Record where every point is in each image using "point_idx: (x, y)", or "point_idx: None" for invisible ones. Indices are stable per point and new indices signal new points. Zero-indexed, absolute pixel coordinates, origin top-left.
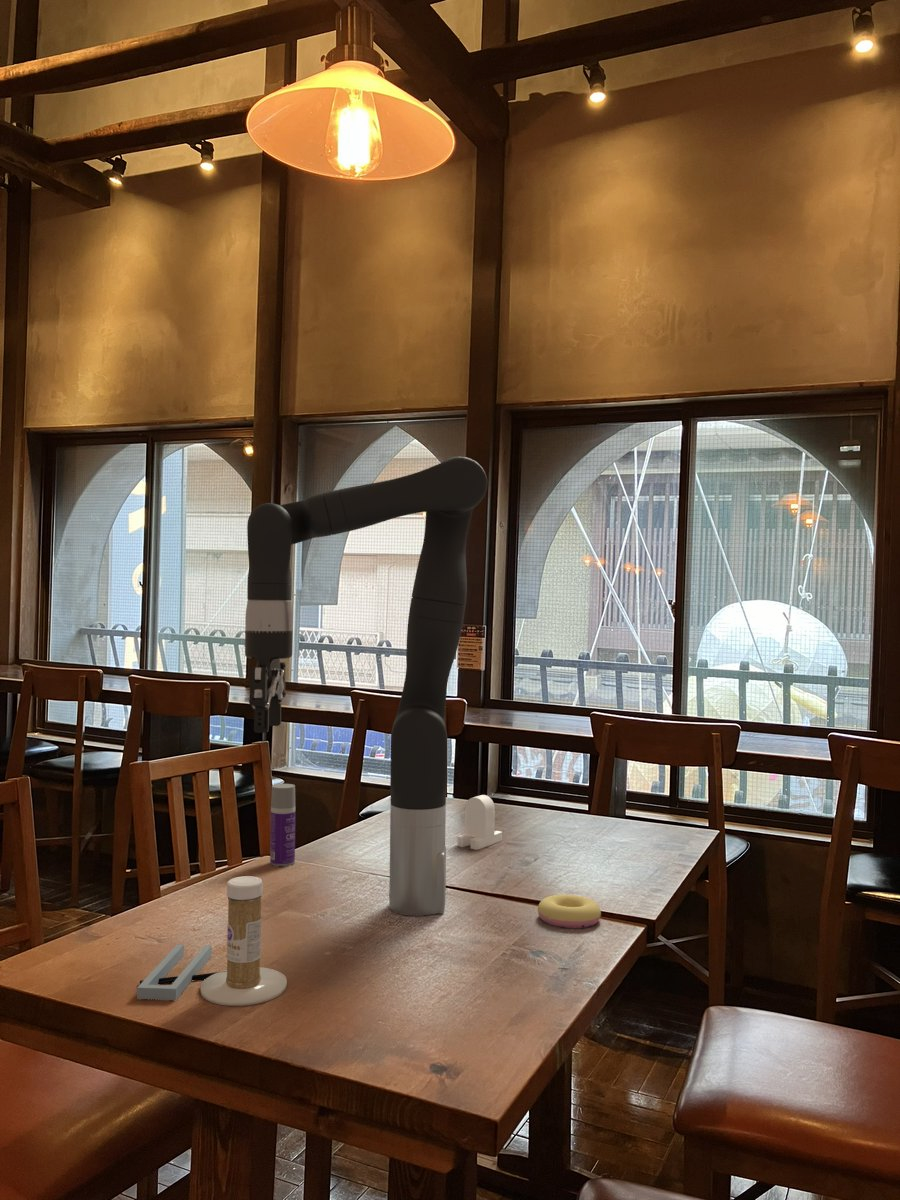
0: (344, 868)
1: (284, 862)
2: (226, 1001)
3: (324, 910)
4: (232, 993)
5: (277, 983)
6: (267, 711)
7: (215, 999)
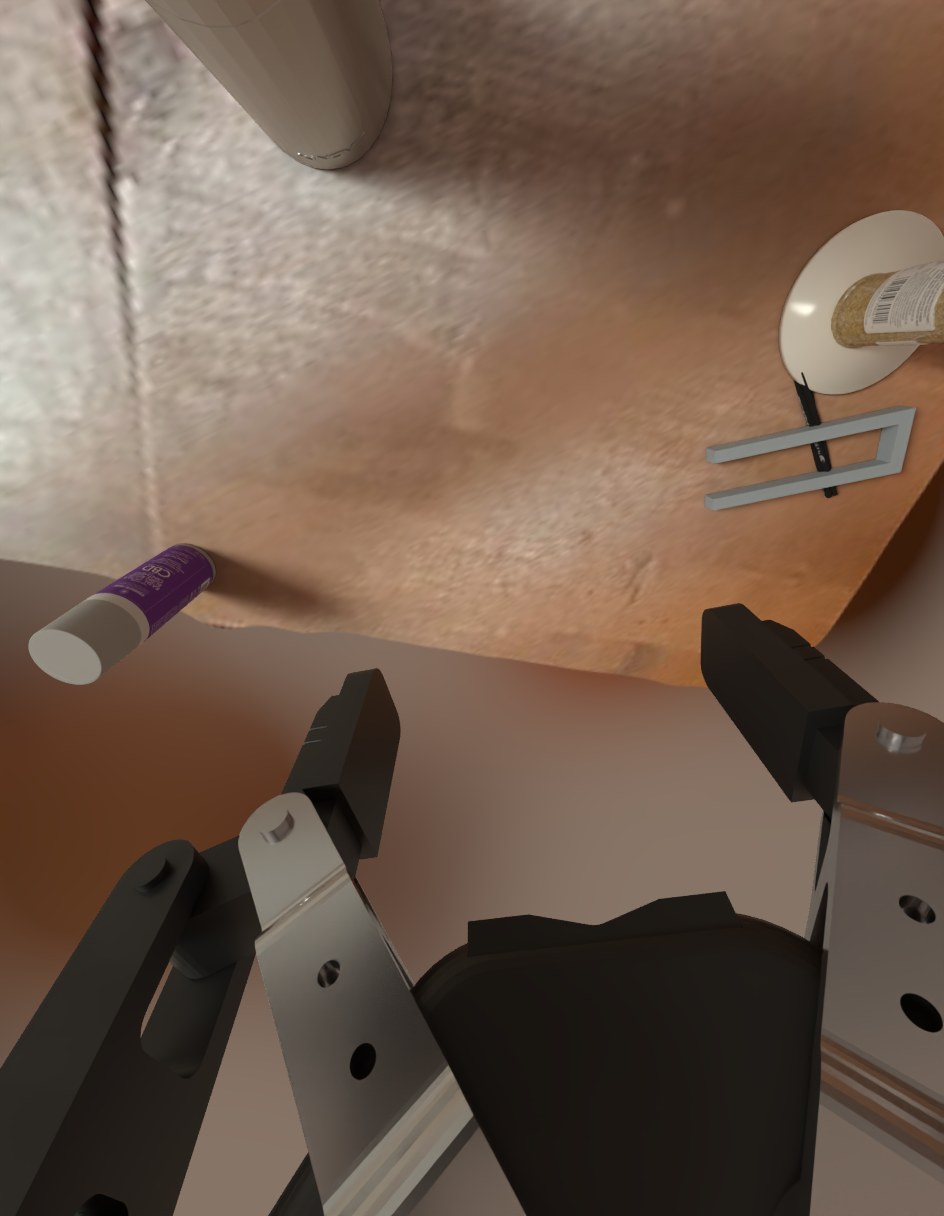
0: (138, 423)
1: (202, 556)
2: None
3: (424, 341)
4: None
5: (873, 234)
6: (836, 694)
7: None
